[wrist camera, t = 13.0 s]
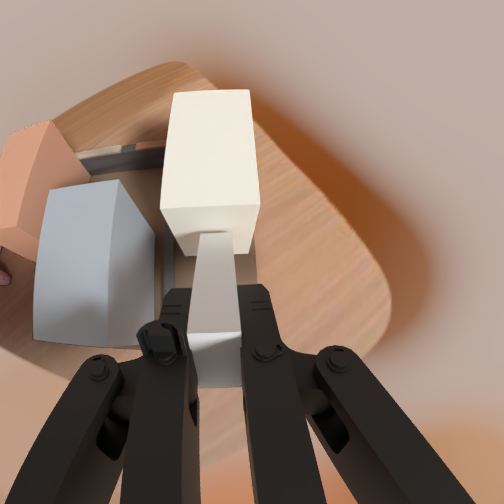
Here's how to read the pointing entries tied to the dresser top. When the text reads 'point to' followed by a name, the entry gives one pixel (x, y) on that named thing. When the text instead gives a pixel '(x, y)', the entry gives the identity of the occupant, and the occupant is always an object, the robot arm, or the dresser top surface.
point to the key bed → (154, 215)
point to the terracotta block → (33, 183)
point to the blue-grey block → (93, 268)
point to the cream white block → (210, 169)
